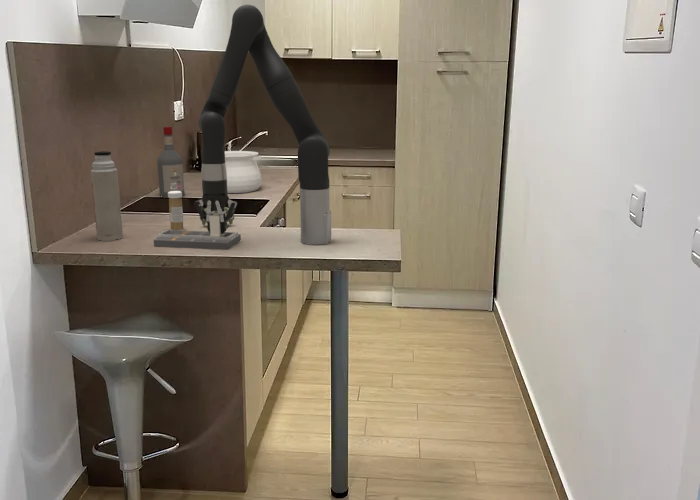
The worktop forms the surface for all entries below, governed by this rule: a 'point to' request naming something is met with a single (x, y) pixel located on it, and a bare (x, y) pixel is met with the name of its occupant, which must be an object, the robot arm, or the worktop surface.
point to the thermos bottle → (106, 197)
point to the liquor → (170, 167)
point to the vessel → (217, 213)
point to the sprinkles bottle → (175, 210)
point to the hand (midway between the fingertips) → (217, 232)
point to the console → (196, 239)
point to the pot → (242, 171)
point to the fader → (215, 225)
